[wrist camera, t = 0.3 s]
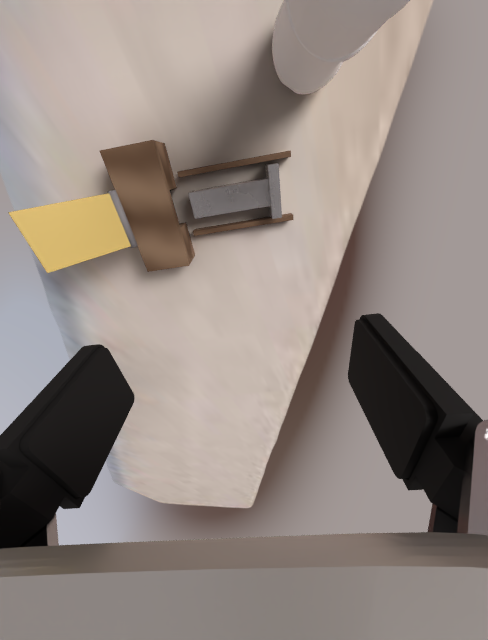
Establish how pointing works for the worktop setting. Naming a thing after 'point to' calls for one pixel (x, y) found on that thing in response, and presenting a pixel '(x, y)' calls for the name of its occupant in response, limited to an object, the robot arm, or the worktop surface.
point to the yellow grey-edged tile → (75, 230)
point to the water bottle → (323, 37)
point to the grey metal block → (240, 196)
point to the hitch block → (163, 201)
